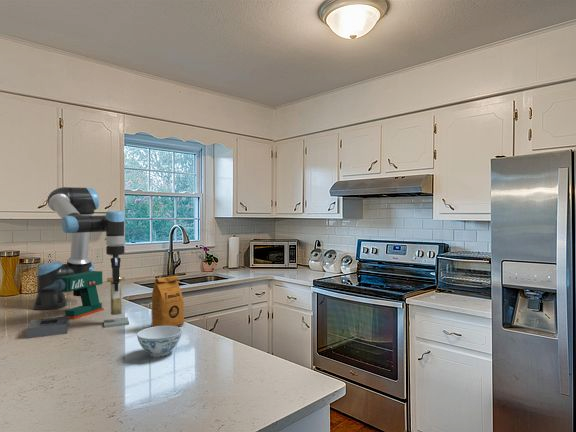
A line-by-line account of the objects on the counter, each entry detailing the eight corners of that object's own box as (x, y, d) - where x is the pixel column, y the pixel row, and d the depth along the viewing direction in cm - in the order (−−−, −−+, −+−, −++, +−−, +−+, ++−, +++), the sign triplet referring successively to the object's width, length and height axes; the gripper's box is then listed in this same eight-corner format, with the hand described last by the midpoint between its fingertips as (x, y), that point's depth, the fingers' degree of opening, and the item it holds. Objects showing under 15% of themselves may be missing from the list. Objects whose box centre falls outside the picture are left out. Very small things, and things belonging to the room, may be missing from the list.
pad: (103, 322, 180) (103, 319, 180) (127, 319, 185) (127, 317, 185) (104, 327, 172) (104, 325, 172) (129, 324, 176) (129, 322, 176)
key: (107, 313, 179) (107, 277, 178) (124, 311, 182) (123, 276, 181) (107, 315, 175) (107, 278, 174) (125, 313, 178) (124, 277, 178)
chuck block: (31, 329, 170) (31, 319, 170) (69, 324, 176) (69, 315, 176) (26, 338, 157) (26, 328, 157) (67, 333, 164) (67, 323, 164)
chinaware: (140, 364, 129) (140, 341, 129) (134, 350, 143) (134, 329, 143) (186, 356, 136) (186, 334, 136) (177, 343, 150) (176, 323, 149)
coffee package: (187, 326, 172) (186, 276, 172) (160, 332, 164) (159, 279, 164) (175, 322, 180) (175, 273, 179) (149, 327, 171) (148, 277, 171)
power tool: (49, 327, 173) (48, 281, 172) (37, 326, 175) (36, 281, 174) (104, 310, 203) (103, 271, 203) (93, 309, 205) (93, 270, 205)
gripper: (105, 244, 184) (106, 294, 184) (106, 247, 168) (107, 301, 169) (123, 243, 187) (123, 293, 187) (125, 246, 172) (126, 300, 172)
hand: (116, 297), depth 178 cm, fingers closed on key, 4 cm apart
